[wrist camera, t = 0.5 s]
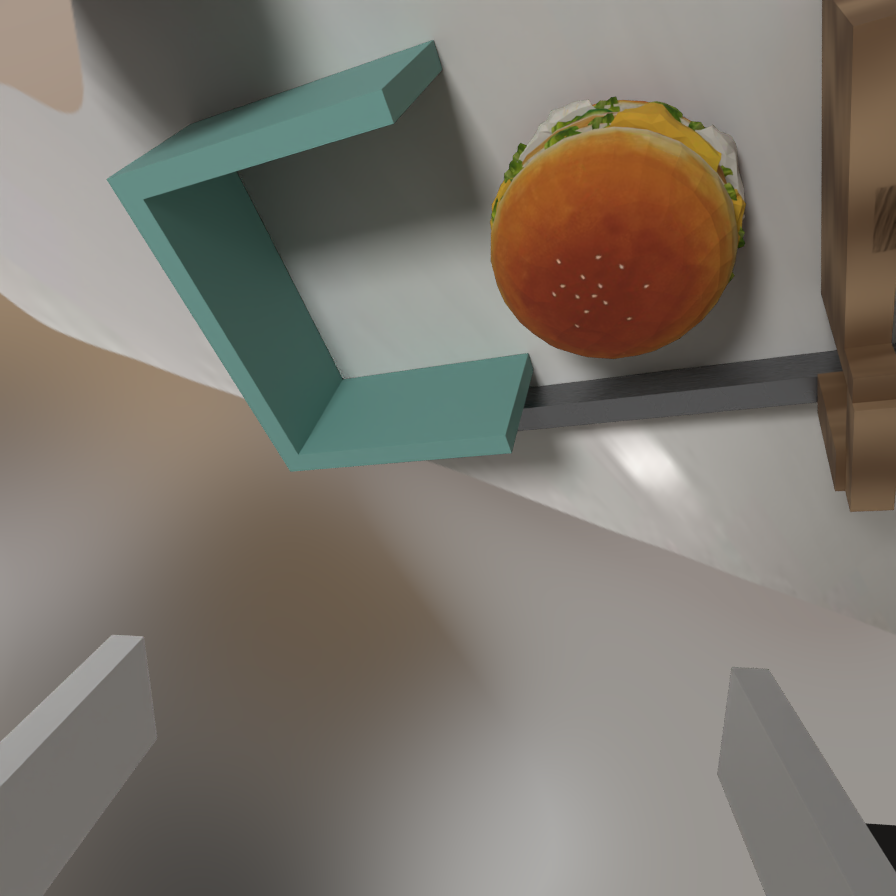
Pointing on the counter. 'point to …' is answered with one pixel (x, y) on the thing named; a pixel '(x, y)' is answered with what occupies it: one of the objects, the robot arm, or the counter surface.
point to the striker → (859, 247)
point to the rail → (680, 392)
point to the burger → (617, 227)
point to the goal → (276, 298)
